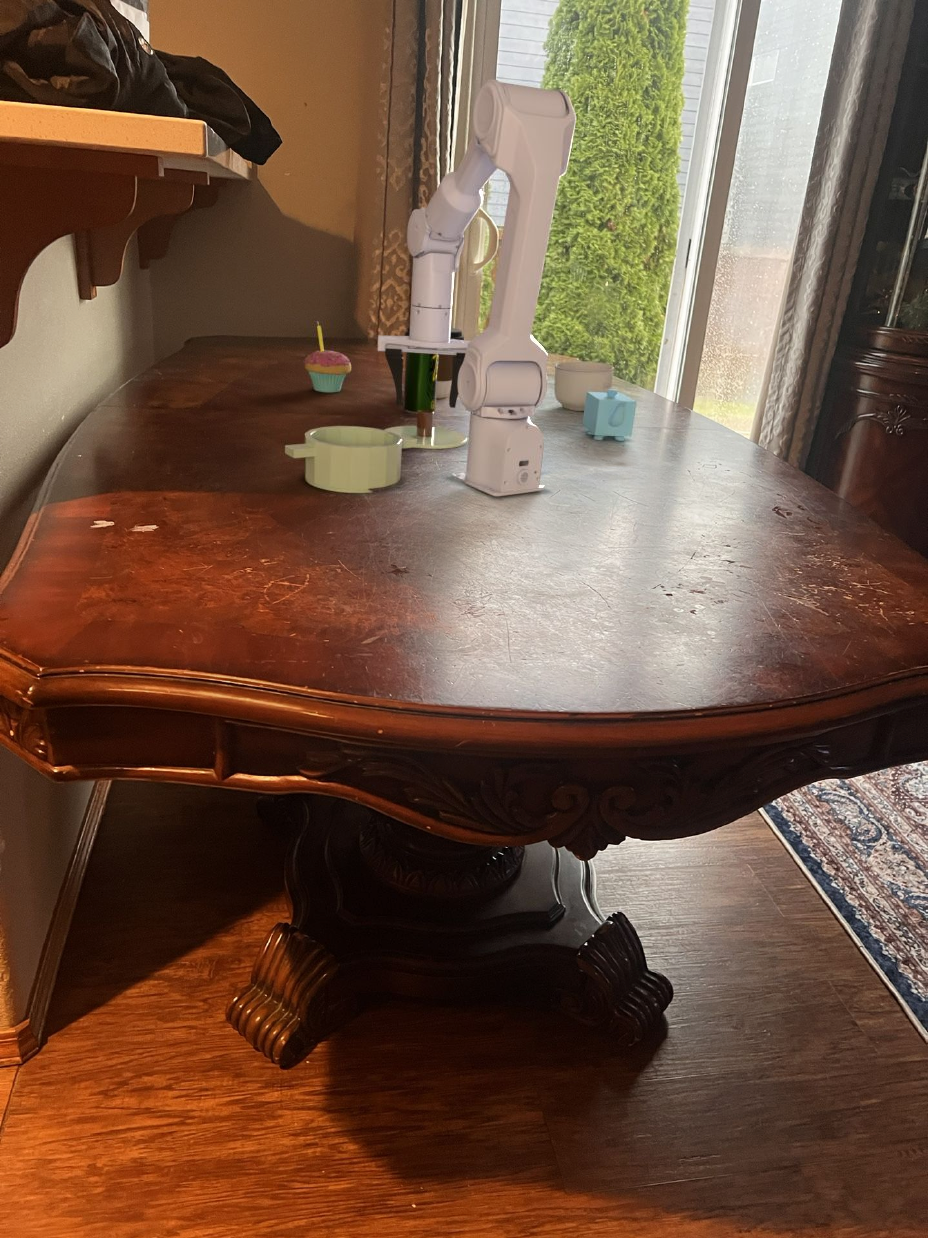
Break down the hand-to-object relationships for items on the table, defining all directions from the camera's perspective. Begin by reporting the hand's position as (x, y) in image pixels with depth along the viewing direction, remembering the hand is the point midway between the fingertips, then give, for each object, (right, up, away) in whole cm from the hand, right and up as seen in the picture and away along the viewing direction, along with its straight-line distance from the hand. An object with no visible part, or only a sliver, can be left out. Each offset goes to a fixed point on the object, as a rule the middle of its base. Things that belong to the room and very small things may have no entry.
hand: (425, 404), depth 130 cm
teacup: (+27, +9, +38) cm, 48 cm away
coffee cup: (-1, +11, +38) cm, 40 cm away
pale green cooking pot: (-8, -14, -19) cm, 25 cm away
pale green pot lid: (0, -4, +2) cm, 5 cm away
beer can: (-2, +3, +21) cm, 22 cm away
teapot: (+29, -2, +15) cm, 32 cm away
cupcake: (-20, +11, +35) cm, 42 cm away
